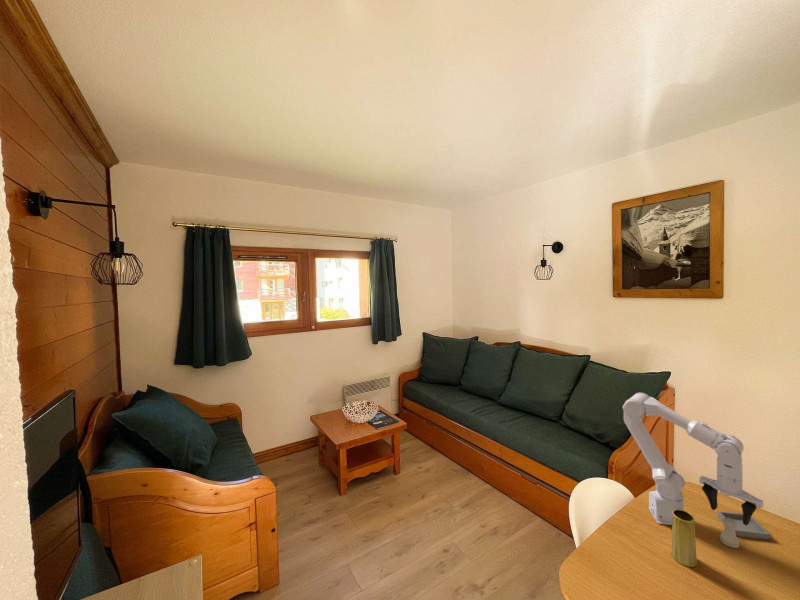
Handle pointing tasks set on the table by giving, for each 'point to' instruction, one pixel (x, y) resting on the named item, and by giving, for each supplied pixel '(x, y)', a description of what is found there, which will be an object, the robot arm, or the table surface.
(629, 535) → the table surface
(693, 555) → the vase
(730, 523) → the rook chess piece
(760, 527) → the tray
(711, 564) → the table surface
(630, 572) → the table surface
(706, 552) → the table surface
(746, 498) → the robot arm
